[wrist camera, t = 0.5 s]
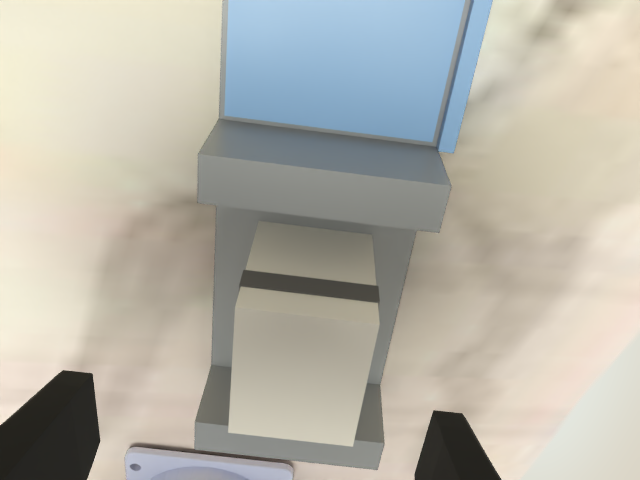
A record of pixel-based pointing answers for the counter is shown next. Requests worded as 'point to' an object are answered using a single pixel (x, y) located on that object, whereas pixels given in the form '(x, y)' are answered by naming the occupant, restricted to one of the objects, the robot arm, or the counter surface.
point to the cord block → (303, 334)
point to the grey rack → (331, 161)
